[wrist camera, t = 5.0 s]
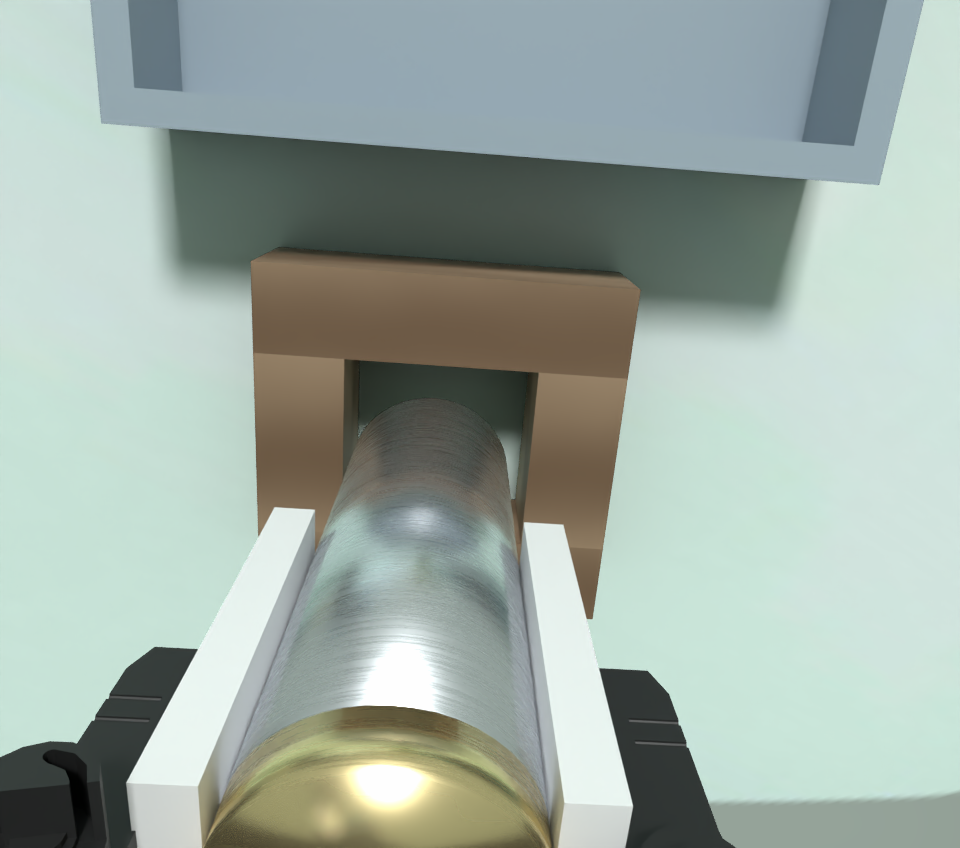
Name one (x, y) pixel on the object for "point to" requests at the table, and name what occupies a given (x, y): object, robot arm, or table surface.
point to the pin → (401, 661)
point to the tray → (526, 77)
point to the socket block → (443, 342)
